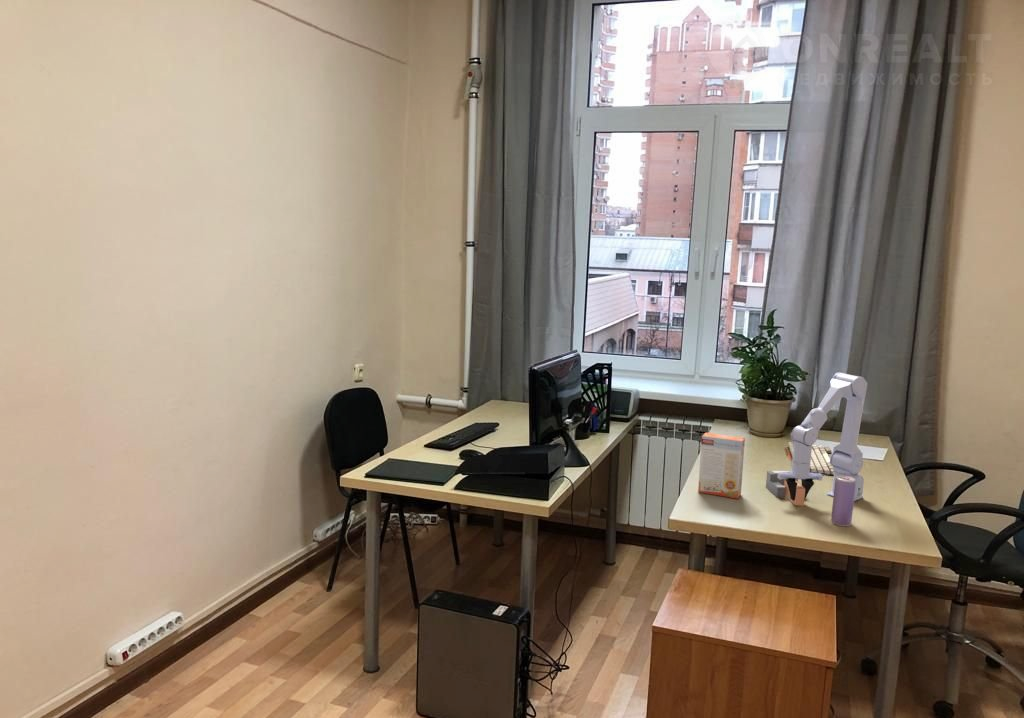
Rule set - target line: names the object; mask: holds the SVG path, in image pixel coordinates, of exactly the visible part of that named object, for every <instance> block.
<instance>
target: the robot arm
mask: <svg viewBox="0 0 1024 718" xmlns="http://www.w3.org/2000/svg"><path fill="white" fill-rule="evenodd" d="M829 386H830V387H829V389H828V391H827V392H826V394H825V395H824V397H823V398H822V400H821V402H820V403H819V405H818V407H816V408H812V409H811V410H810V411H809V412H808V414H807V416H806V417H805V418H804V420H803V421H802V422H801V424H800V425H797V426H795V427H793V429H792V431H791V432H790V439H791V440H792V442H791V443H792V445H793V446H794V449H793V460H792V461H791V470H789V471H790V472H778V479H780V480H782V479H785V480H786V482H787V485H788V488H789V491H790V499H791V500H795V492H796V487H797V484H798V483H797V482H796V480H795V479H798V480H800V481H801V485H802V486H803V487H804V488H805V499H804V502H805V501H806V499H807V497H808V495H809V492H810V490H811V489H812V487H813V486H814V485H815V482H814V481H816V480H817V481H823V476H824V475H822V474H820V473H810V461H811V451H812V446H813V445H815V443H816V442H817V440H818V435H819V434H820V433H819V432H820V429H821V428H822V427H823V425H824V424H825V423H826V422H827V421H828V413H829V411H831V410H832V409H833V407H834V406H835V405H836V403H838V402H839V401H840V399H841V398H845V399H846V407H845V412H844V417H843V423H842V429H841V430H842V431H841V435H840V436H841V437H840V441H839V443H838V444H836V445H834V447H833V448H832V451H831V452H832V454H831V456H830V464H831V465H832V466H833V468H832V469H834V476H833V475H832V476H833V477H832V485H831V486H832V487H831V491H829V492H827V493H826V495H828V496H832V497H833V496H834V487H835V479H836V476H840V475H843V476H850V477H853V478H854V479H855V482H856V485H855V494H854V502H855V501H858V500H860V499H862V498H864V496H863V493H864V492H863V491H864V483H865V482H864V480H865V479H864V477H863V475H860V474H859V473H860V472H861V470H863V466H864V461H863V454H864V453H863V452H862V451H861V449H860V448H859V446H858V442H859V433H860V428H861V423H862V418H863V410H864V406H865V400H866V396H867V395H866V394H867V390H868V389H867V388H868V382H867V381H866V379H865V378H864V377H863V376H858V375H853V374H848V373H844V372H841V371H838V372H836V373H835V374H833V376H832V378H831V380H830V382H829Z"/></svg>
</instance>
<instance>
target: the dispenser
mask: <svg viewBox="0 0 1024 718" xmlns="http://www.w3.org/2000/svg"><path fill="white" fill-rule="evenodd" d="M790 471H791V470H789V471H788V470H767V471H766V481H765V488H766V489H768V490H769V492H770V493H772V495H773V496H775V498H782V499H783V498H785V497H786V496H785V486H784V480H785V479H782V480H780V479H778V472H790ZM795 480H796V481H797V482H798V483H799V484H801V483H800V482H799V479H795Z"/></svg>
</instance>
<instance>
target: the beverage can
mask: <svg viewBox="0 0 1024 718" xmlns="http://www.w3.org/2000/svg"><path fill="white" fill-rule="evenodd" d="M855 485H856V482H855V479H854V478H853V477H850V476H843V475H840V476H836V479H835V487H834V496H832V498H833V499H832V507H831V518H830V520H831V522H832V524H835V525H837V526H840V527H848V526H850V525H851V524H852V521H853V511H854V502H855V501H854V494H855Z"/></svg>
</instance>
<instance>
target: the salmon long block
mask: <svg viewBox="0 0 1024 718" xmlns="http://www.w3.org/2000/svg"><path fill="white" fill-rule="evenodd" d="M796 482H797V481H796ZM798 482H799V481H798ZM798 482H797V483H798ZM799 483H800V482H799ZM799 483H798V484H797V487H796V492H795V500H791V499H790V491H789V488H788V485H787V482H786V480H784V486H785V496H784V497H786V498H787V499H788V501H790V502H791V503H792V504H793V505H794V506H799V507H800V506H804V505H805V501H804V499H805V488H804V487H803V486H802V483H800V484H799ZM805 500H806V499H805Z"/></svg>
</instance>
